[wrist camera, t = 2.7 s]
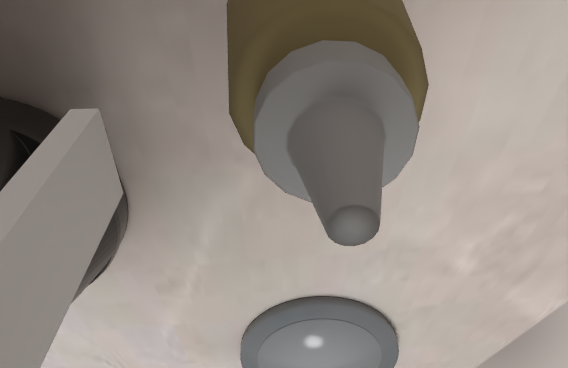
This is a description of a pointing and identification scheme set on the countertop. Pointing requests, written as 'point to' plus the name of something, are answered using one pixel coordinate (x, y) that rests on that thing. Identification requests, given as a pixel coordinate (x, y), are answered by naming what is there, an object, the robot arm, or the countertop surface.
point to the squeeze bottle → (327, 101)
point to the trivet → (320, 336)
